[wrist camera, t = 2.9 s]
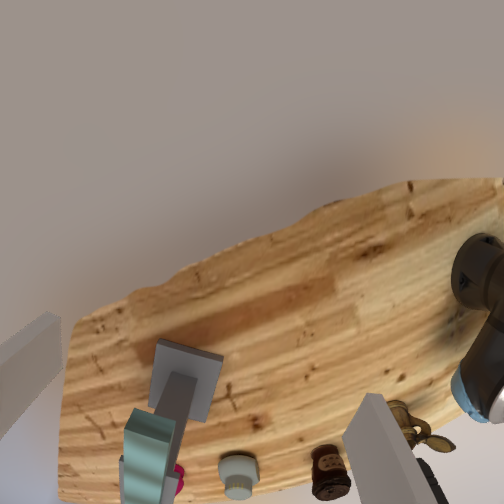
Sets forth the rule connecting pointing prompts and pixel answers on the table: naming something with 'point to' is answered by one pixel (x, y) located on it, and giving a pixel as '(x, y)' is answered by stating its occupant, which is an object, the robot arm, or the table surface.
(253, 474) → the air freshener
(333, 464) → the coffee cup
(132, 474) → the block
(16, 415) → the robot arm
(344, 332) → the table surface
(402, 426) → the wooden mug
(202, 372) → the stand
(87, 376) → the table surface
